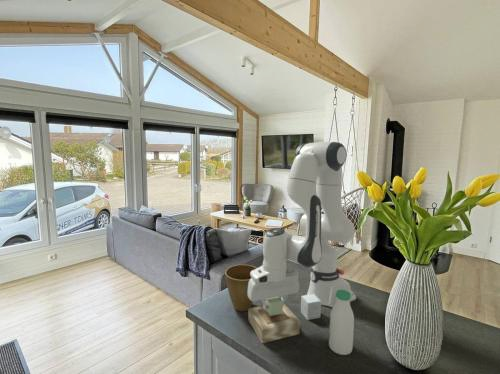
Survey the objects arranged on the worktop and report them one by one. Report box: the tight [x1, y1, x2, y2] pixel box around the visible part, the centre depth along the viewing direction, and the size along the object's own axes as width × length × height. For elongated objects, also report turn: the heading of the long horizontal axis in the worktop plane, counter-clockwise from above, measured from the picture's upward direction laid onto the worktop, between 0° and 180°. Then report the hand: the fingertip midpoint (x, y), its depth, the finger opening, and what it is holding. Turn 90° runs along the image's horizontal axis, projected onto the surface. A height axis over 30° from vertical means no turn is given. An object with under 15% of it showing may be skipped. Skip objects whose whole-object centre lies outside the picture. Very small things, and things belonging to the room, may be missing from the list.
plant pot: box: [224, 264, 258, 312], centre depth 116 cm, size 15×15×16 cm
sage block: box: [265, 296, 283, 316], centre depth 103 cm, size 5×5×5 cm
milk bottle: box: [328, 290, 355, 356], centre depth 92 cm, size 8×8×20 cm
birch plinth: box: [247, 303, 301, 344], centre depth 104 cm, size 15×14×5 cm
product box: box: [300, 294, 322, 321], centre depth 112 cm, size 6×6×7 cm
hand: (273, 306), depth 103 cm, fingers closed on sage block, 5 cm apart
